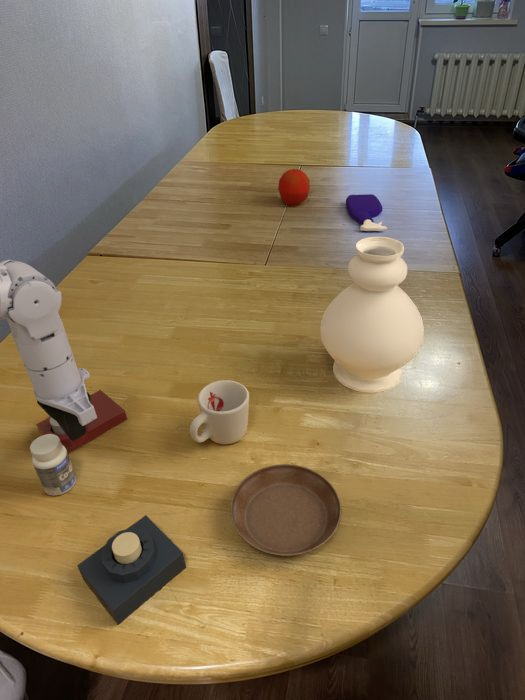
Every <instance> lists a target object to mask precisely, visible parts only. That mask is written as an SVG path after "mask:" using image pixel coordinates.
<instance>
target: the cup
mask: <svg viewBox="0 0 525 700" xmlns="http://www.w3.org/2000/svg"><path fill="white" fill-rule="evenodd" d="M197 404H198V405H197V406H198V408H199V412H200V413H199V414H198V415H197V416H195V417H194V419H193V420H192V421H191V422H190V425H189V434H190V437H191V439H192V440H193V441H195V442H196V443H198V444H200V443H204V442H205V441H207V440H208V439H210V440H211V441H212V442H214V443H216V444H219V445H231V444H235V443H237V442H239V441H240V440H242V439H243V438H244V437H245V435H246V433H247V430H248V423H249V411H250V410H249V409H250V407H249V406H250V392H249V390H248V388H247V387H246V386H245V385H244V384H243V383H240V382H238V381H235V380H229V379H222V380H221V379H220V380H216V381H213V382H211V383H208V384H207V385H205V386H204V387H202V389H201V390H200V391H199V393H198V395H197ZM202 424H203V429H202V431H201V433H200V434H198V433H199V431H198V430H199V428H200V426H202Z"/></svg>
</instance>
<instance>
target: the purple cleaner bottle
mask: <svg viewBox="0 0 525 700" xmlns="http://www.w3.org/2000/svg"><path fill="white" fill-rule="evenodd" d="M345 209H346V212H347V213H348V215H349V217H350V218H351V219H352V220H355V221H356V223H359V224H360V226H359V227H360V228H359V230H360V231H363V232H364V231H365V232H381V231H387V229H388V226H387V225H386V226H385V225H384V226H383V225H382V224H383V221H379V222H378V223H376V222H375V221H374V219H373V218H375V217H379V215H381V214H382V212H383V204H382V203H381V201H380V200H379V198H378V197H377V196H376V195H375V194H372V193H371V194H370V193H369V194H366V193H365V194H349V195H348V196H347V197H346V198H345Z"/></svg>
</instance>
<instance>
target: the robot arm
mask: <svg viewBox="0 0 525 700" xmlns="http://www.w3.org/2000/svg"><path fill="white" fill-rule="evenodd" d="M62 296H63V295H62V291H61V290H58V289H57V286H56V285H55V283H54V282H53V281H52V280H51V279H50V278H48V277H47V276H45V275H44V274H43V273H41V272H39V270H37V269H35V268H34V267H33V266H31V265H30V264H27V263H26V262H23V261H18V260H12V259H5V260H2V261H1V262H0V321H4V320H6V321H7V324H8V326H9V328H10V333H11V337H12V339H13V342H14V343H15V346H16V349H17V351H18V353H19V356H20V358H21V361H22V363H23V366H24V367H25V370H26V373H27V375H28V378H29V381H30V383H31V385H32V391H33V394H34V397H35V399H36V404H38V406H39V407H40V408H41V409H42V410H43V411H44V412H45V413H46V414H47V415H48V417H51V418H53V419H54V420H56V421H57V423H58V424H59V425H60V427H61V428H62V430H63V431H64V432H65V434H66V435H67V436H68V437H69V438H70V439H71V440H72V441H75V440H76V439H78V438H80V437H82V436H83V435H85V434H86V424H87V423H90V422H91V421H93V420H94V419H96V418H97V415H96V412H95V409H94V406H93V405H92V404H91V403H90V401H91V397H90V395H91V394H90V392H88V391H87V388H86V385H85V381H87V380H88V379H90V378H91V375H90V373H89V371H88V370H87V369H86V368H84V367H79V368H78V365H77V361H76V358H75V356H74V353H73V349H72V346H71V344H70V341H69V338H68V335H67V332H66V329H65V326H64V323H63V320H62V318H61V316H60V313H59V311H60V309H61V306H62V301H63V297H62Z"/></svg>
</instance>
